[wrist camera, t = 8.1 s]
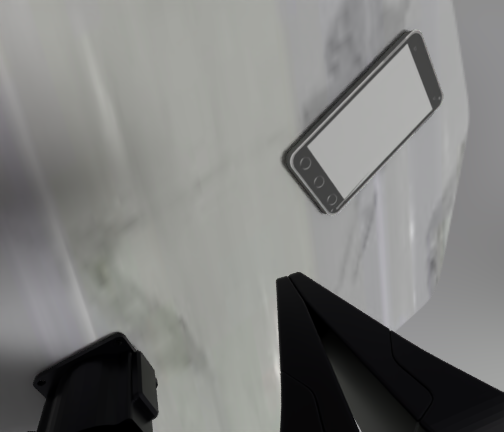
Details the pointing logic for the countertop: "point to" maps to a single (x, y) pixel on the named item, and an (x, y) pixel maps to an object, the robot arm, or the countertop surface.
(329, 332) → the robot arm
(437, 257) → the countertop surface
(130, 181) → the countertop surface
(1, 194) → the countertop surface
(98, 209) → the countertop surface
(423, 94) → the smartphone
